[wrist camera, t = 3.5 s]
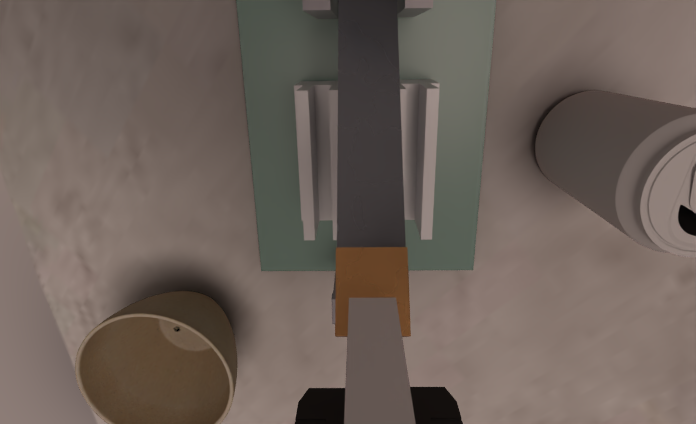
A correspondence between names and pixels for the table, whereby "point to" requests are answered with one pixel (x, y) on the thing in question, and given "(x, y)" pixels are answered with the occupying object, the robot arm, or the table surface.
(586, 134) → the beverage can
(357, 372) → the robot arm
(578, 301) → the table surface
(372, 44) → the grey long bar
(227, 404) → the flower pot
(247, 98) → the board
